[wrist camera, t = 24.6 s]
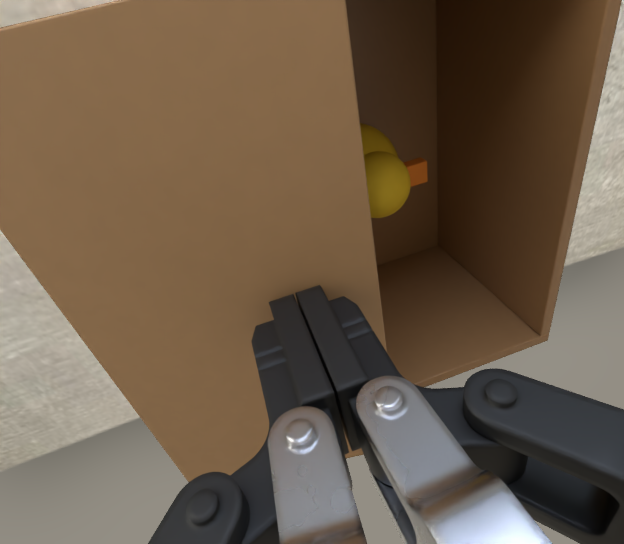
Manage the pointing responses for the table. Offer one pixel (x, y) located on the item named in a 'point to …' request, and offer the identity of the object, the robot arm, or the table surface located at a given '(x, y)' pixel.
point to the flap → (187, 195)
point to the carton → (478, 165)
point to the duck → (388, 173)
